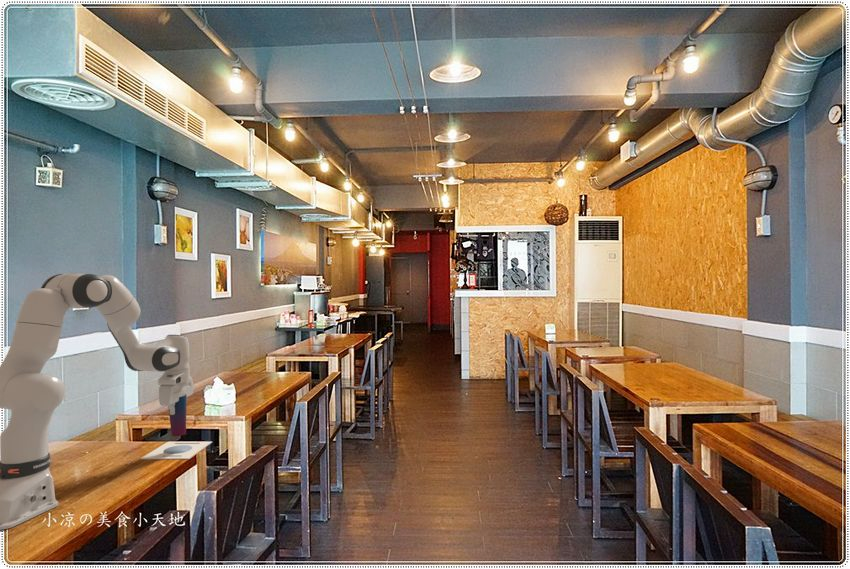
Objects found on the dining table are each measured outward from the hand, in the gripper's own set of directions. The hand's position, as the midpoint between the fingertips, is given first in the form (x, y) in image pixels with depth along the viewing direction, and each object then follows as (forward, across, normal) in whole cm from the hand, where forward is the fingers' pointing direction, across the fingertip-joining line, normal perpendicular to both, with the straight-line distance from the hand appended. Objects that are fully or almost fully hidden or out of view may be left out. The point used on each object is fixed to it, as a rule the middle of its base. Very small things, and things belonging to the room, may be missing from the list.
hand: (177, 411), depth 200 cm
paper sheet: (+15, 0, 0) cm, 15 cm away
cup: (+9, 0, 0) cm, 9 cm away
